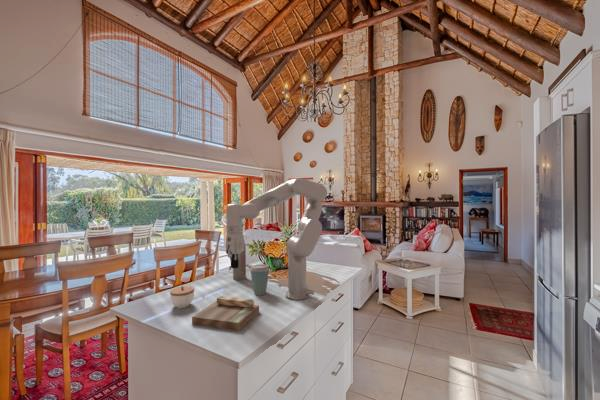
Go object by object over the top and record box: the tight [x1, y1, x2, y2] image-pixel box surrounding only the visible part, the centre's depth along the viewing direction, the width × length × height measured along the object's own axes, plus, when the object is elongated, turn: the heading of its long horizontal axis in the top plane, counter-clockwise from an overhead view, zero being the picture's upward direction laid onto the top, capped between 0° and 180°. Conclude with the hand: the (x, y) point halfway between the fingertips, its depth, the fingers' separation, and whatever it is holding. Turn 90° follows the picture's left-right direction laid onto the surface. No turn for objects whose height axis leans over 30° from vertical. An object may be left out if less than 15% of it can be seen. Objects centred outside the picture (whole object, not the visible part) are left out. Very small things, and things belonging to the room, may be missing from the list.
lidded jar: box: [169, 285, 195, 309], centre depth 132 cm, size 11×11×9 cm
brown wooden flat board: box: [191, 300, 260, 331], centre depth 119 cm, size 22×18×3 cm
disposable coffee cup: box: [250, 264, 271, 296], centre depth 149 cm, size 11×11×15 cm
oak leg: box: [216, 295, 255, 308], centre depth 124 cm, size 17×3×3 cm, turn 74°
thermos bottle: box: [232, 240, 247, 281], centre depth 176 cm, size 8×8×28 cm
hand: (234, 267), depth 131 cm, fingers closed
